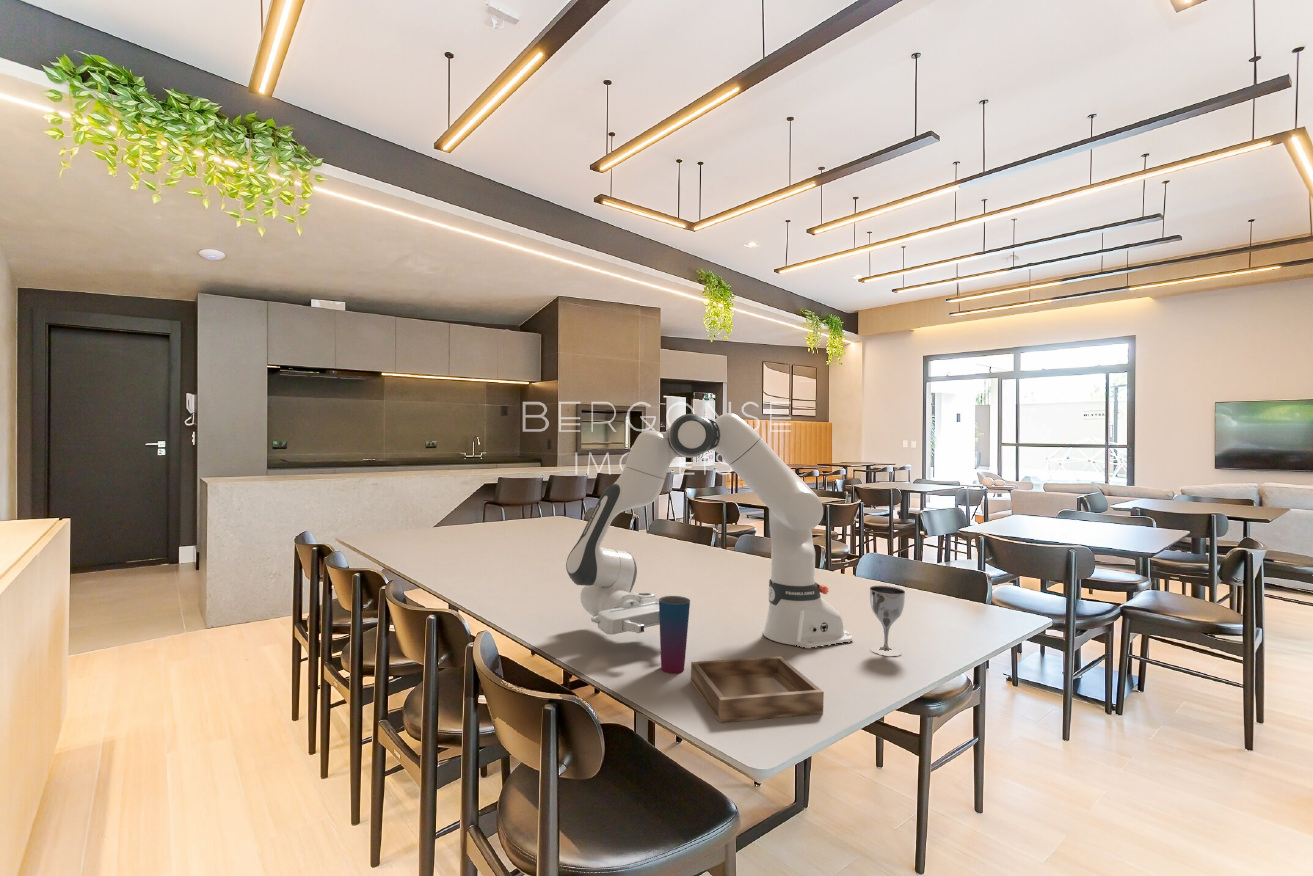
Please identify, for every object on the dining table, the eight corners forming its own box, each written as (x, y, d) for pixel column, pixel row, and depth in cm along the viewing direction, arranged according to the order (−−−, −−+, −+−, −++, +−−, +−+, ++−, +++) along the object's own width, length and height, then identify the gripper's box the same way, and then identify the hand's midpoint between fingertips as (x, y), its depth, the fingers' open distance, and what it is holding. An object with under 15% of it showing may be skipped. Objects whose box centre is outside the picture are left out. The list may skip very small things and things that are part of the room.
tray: (780, 675, 124) (780, 656, 124) (823, 713, 107) (823, 691, 107) (690, 681, 120) (691, 661, 120) (720, 722, 102) (720, 700, 102)
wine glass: (862, 646, 144) (864, 585, 144) (893, 645, 145) (894, 585, 145) (877, 657, 136) (879, 593, 136) (910, 657, 137) (911, 594, 137)
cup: (685, 676, 122) (687, 605, 122) (654, 673, 123) (656, 602, 123) (690, 664, 129) (692, 597, 129) (660, 661, 130) (662, 594, 130)
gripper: (587, 604, 135) (620, 619, 124) (657, 592, 148) (692, 604, 137) (586, 631, 135) (619, 648, 124) (656, 617, 147) (692, 631, 136)
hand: (658, 625), depth 130 cm, fingers open, 8 cm apart
